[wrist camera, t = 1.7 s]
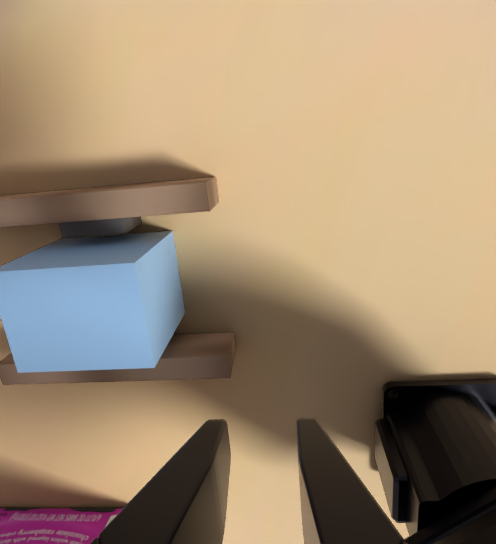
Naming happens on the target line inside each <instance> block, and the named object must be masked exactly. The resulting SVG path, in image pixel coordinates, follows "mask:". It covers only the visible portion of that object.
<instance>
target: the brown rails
mask: <svg viewBox="0 0 496 544" xmlns="http://www.w3.org/2000/svg"><path fill="white" fill-rule="evenodd" d="M218 202H219V199H218V190H217V182H216V177H208V178H197V179H185V180H174V181H162V182H151V183H139V184H128V185H116V186H105V187H93V188H82V189H70V190H59V191H47V192H36V193H24V194H13V195H1V196H0V227H11V226H24V225H37V224H50V223H59V226H60V230H61V234H62V238H68V237H82V236H96V235H109V234H123V233H127V232H128V231H130V230H132V229H133V228H135V227H137V226H138V225H140V224H142V221H141V216H153V215H166V214H179V213H191V212H204V211H210V210H211V209H212V208H213V207H214V206H215V205H216V204H217V203H218ZM235 354H236V349H235V340H234V332H229V333H205V334H182V335H173V336H172V338H171V339H170V341H169V343H168V345H167V346H166V348H165V350H164V352H163V354H162V355H161V357H160V359H159V361H158V363H157V364H156V366H155V368H137V369H109V370H81V371H53V372H25V373H18V372H17V368H16V365H15V362H14V359H13V356H12V353H11V354H9V355H8V356H7V357H5V358H4V359H3V360H2V361H0V378H1V381H2V384H3V385H14V384H47V383H80V382H113V381H146V380H179V379H212V378H230V376H231V371H232V367H233V363H234V358H235Z"/></svg>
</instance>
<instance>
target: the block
mask: <svg viewBox="0 0 496 544" xmlns="http://www.w3.org/2000/svg"><path fill="white" fill-rule="evenodd" d="M184 314H185V307H184V301H183V294H182V288H181V281H180V275H179V268H178V262H177V255H176V249H175V242H174V236H173V231H163V232H150V233H136V234H122V235H109V236H95V237H81V238H68V239H59V240H57V241H55V242H53V243H50V244H48V245H46V246H44V247H42V248H39V249H37V250H35V251H33V252H31V253H28V254H26V255H24V256H22V257H20V258H17V259H15V260H13V261H11V262H9V263H6V264H4V265H2V266H0V317H1V320H2V323H3V327H4V330H5V333H6V336H7V340H8V343H9V346H10V349H11V352H12V356H13V359H14V362H15V365H16V368H17V372H18V373H25V372H53V371H81V370H109V369H137V368H155V366H156V364H157V363H158V361H159V359H160V357H161V355H162V354H163V352H164V350H165V348H166V346H167V345H168V343H169V341H170V339H171V338H172V336H173V334H174V332H175V330H176V329H177V327H178V325H179V323H180V321H181V320H182V318H183V316H184Z"/></svg>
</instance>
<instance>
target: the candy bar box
mask: <svg viewBox="0 0 496 544" xmlns="http://www.w3.org/2000/svg"><path fill="white" fill-rule="evenodd" d="M121 510H122V509H35V508H0V544H90V543H91V542H92V541H93V539H94V538H96V537H98V538H99V533H100V532H101V531H102V530H103V529H104V528H105V527H106V526H107V525H108V524H109V523H110V522H111V521H112V520H113V519H114V518H115V517H116V516H117V515H118V513H119V512H120V511H121Z"/></svg>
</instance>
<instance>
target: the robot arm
mask: <svg viewBox="0 0 496 544" xmlns="http://www.w3.org/2000/svg"><path fill="white" fill-rule="evenodd" d="M393 390H394V391H396V392H395V393H394V394H389V392H390V391H393ZM297 446H298V464H299V480H300V495H301V511H302V525H303V535H304V543H305V544H496V379H481V380H446V381H410V382H389V383H387V384H385V385H384V386H383V388H382V412H381V418H379V419H378V420H377V421H376V422H375V460H376V464H377V467H378V471H379V474H380V478H381V481H382V485H383V488H384V492H385V495H386V499H387V503H388V506H389V510H390V513H391V517H392V518H393V519H394V520H395V521H396V522H397V523H406V526H407V529H408V533H409V537H407V538H406V539H403V537H402V536H401V535H400V533H399V532H398V530H397V529H396V528H395V526H394V525H393V524H392V522H391V521H390V519H389V518H388V517H387V515H386V514H385V513H384V511H383V510H382V508H381V507H380V506H379V504H378V503H377V502H376V500H375V499H374V497H373V496H372V495H371V493H370V492H369V491H368V489H367V488H366V486H365V485H364V484H363V482H362V481H361V480H360V478H359V477H358V475H357V474H356V473H355V471H354V470H353V469H352V467H351V466H350V464H349V463H348V462H347V460H346V459H345V458H344V456H343V455H342V454H341V452H340V451H339V449H338V448H337V447H336V445H335V444H334V443H333V441H332V440H331V438H330V437H329V436H328V434H327V433H326V432H325V430H324V429H323V427H322V426H321V425H320V423H319V422H318V421H317V419H315V418H298V419H297ZM230 460H231V451H230V443H229V435H228V427H227V422H226V421H225V420H223V419H220V420H208V421H206V422H205V423H204V424H203V425H202V426H201V427H200V428H199V429H198V431H197V432H196V433H195V434H194V435H193V436H192V437H191V438H190V439H189V440H188V441H187V442H186V443H185V444H184V445H183V446H182V447H181V448H180V449H179V450H178V452H177V453H176V454H175V455H174V456H173V457H172V458H171V459H170V460H169V461H168V462H167V463H166V464H165V465H164V466H163V467H162V468H161V469H160V470H159V471H158V473H157V474H156V475H155V476H154V477H153V478H152V479H151V480H150V481H149V482H148V483H147V484H146V485H145V486H144V487H143V488H142V489H141V490H140V491H139V492H138V494H137V495H136V496H135V497H134V498H133V499H132V500H131V501H130V502H129V503H128V504H127V505H126V506H125V507H124V508H123V509H122V510H121V511H120V512H119V513H118V515H117V516H116V517H115V518H114V519H113V520H112V521H111V522H110V523H109V524H108V525H107V526H106V527H105V528H104V529H103V530H102V531H101V532H100V533H99V538H98V537H96V538H94V539H93V541H92V542H91V543H90V544H222V541H223V535H224V528H225V519H226V508H227V496H228V484H229V473H230Z"/></svg>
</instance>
